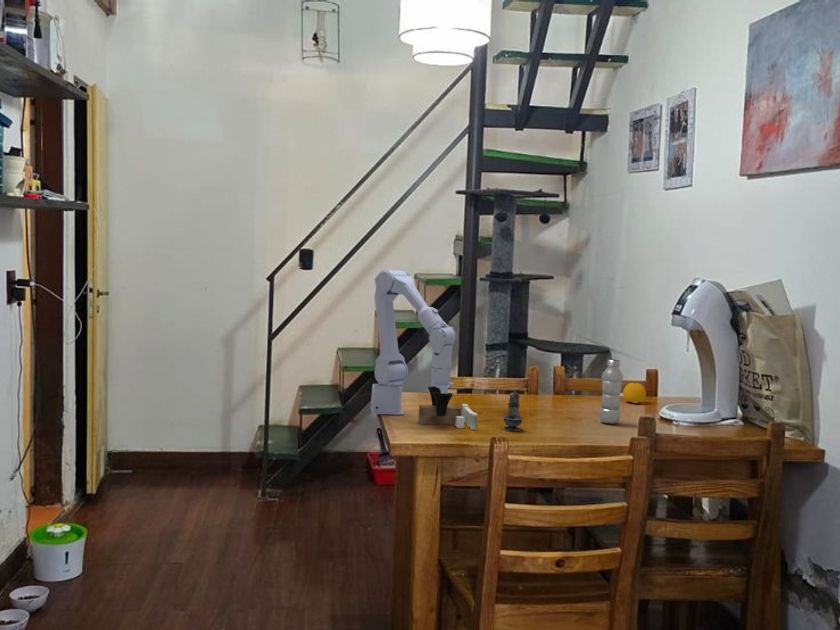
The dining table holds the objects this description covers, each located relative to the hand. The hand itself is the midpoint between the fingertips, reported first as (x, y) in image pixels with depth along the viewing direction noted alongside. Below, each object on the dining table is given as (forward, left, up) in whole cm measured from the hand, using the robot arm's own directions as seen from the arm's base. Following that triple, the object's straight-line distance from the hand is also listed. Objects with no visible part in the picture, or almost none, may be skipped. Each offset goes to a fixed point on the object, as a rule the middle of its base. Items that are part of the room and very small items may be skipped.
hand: (438, 413), depth 240 cm
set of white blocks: (+7, 0, -3) cm, 8 cm away
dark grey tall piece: (+21, -6, -3) cm, 22 cm away
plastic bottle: (+55, +5, -3) cm, 55 cm away
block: (0, 0, -3) cm, 3 cm away
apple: (+78, +40, -3) cm, 88 cm away
